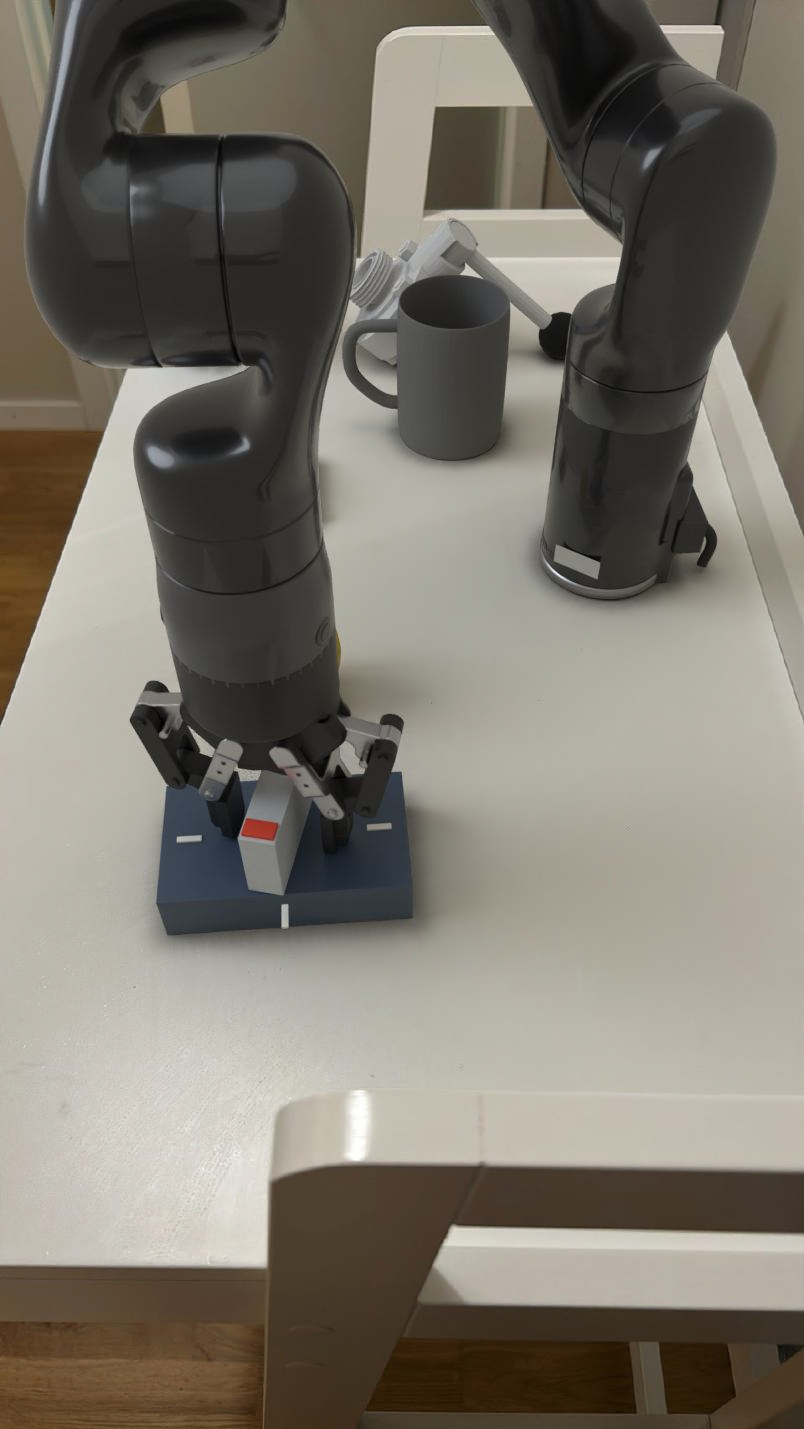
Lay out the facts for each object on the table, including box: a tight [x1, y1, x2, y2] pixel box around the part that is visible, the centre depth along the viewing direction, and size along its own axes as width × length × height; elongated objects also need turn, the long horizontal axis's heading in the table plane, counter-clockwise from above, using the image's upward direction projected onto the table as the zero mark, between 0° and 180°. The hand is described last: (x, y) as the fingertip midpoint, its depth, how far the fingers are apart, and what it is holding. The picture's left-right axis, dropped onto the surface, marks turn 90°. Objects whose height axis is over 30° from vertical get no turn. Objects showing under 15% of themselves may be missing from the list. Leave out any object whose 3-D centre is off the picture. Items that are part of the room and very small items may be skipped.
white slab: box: [238, 770, 312, 895], centre depth 58 cm, size 8×2×5 cm, turn 169°
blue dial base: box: [155, 771, 414, 936], centre depth 61 cm, size 14×12×4 cm
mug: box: [341, 274, 511, 461], centre depth 87 cm, size 14×9×12 cm
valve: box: [349, 217, 572, 366], centre depth 98 cm, size 10×20×15 cm
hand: (283, 831), depth 60 cm, fingers open, 5 cm apart
